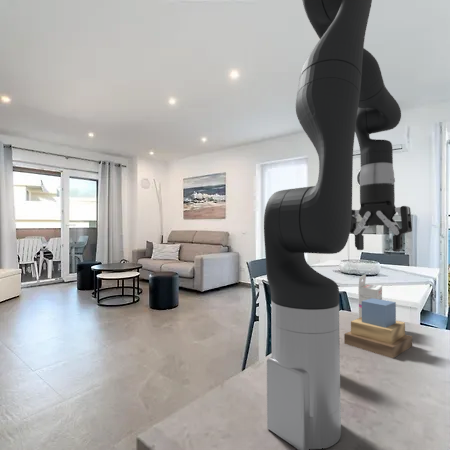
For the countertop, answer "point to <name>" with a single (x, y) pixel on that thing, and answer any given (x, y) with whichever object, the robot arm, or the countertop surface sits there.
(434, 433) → the countertop surface
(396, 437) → the countertop surface
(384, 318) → the slate block
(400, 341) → the walnut base slab
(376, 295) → the ink cartridge box
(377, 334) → the oak top slab
